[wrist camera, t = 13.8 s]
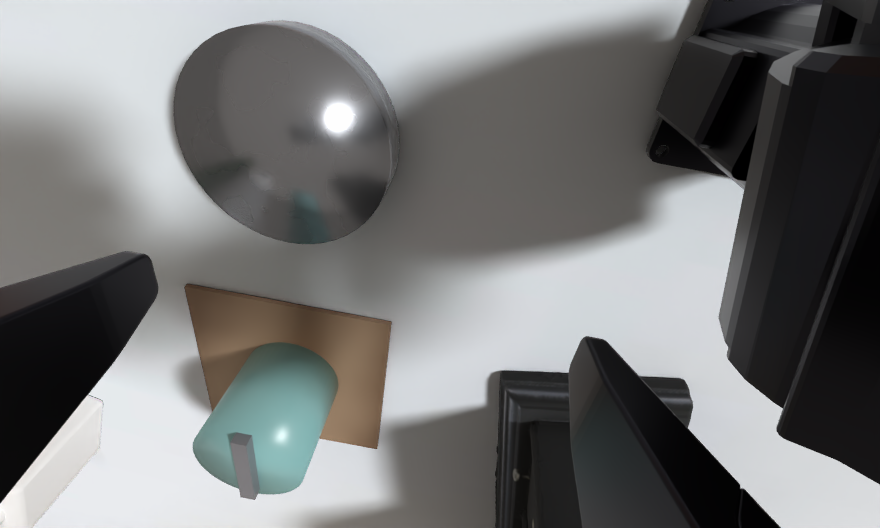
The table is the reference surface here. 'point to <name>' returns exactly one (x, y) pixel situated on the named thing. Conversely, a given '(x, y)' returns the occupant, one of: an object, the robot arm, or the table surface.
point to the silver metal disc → (287, 130)
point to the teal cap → (268, 420)
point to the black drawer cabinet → (548, 447)
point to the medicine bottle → (54, 467)
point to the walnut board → (322, 331)
